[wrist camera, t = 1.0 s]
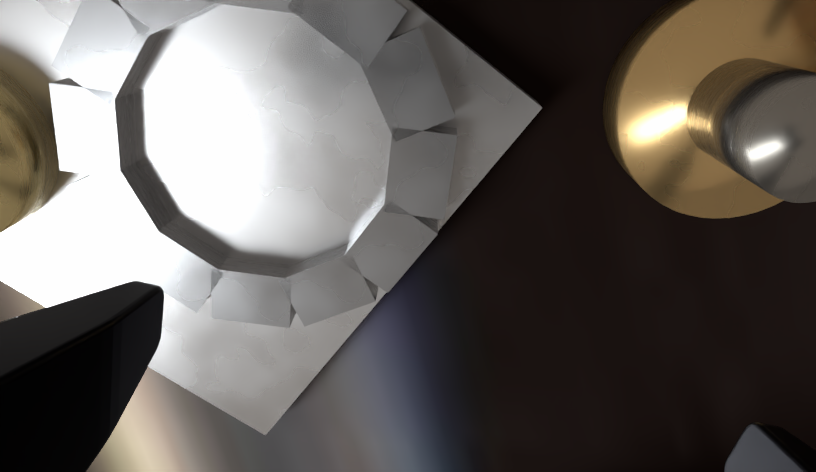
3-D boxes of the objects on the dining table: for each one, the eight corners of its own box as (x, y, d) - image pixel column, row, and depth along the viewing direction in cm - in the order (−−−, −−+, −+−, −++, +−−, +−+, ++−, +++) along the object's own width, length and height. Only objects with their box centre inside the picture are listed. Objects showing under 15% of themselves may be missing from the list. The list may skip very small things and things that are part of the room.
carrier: (536, 100, 20) (567, 139, 15) (273, 415, 25) (234, 515, 21) (2, -331, 16) (-187, -466, 11) (-163, 156, 22) (-334, 205, 17)
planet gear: (869, 76, 19) (1046, 115, 13) (702, 234, 21) (794, 321, 16) (719, -69, 18) (846, -92, 12) (558, 117, 20) (603, 169, 14)
